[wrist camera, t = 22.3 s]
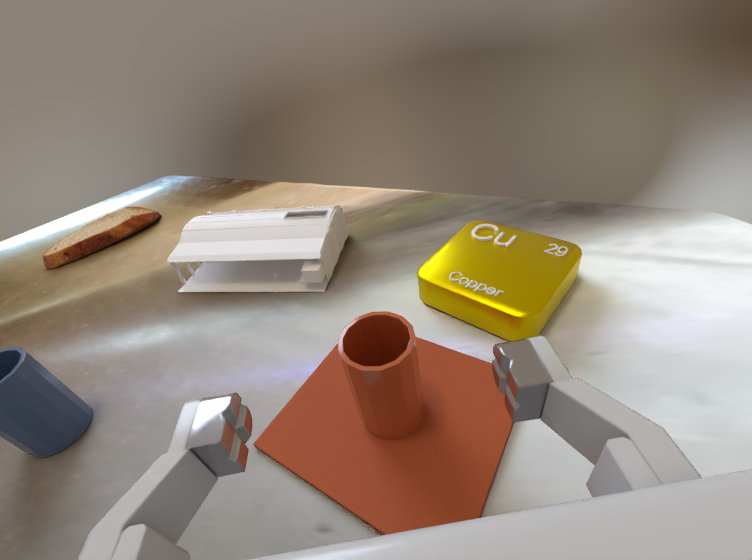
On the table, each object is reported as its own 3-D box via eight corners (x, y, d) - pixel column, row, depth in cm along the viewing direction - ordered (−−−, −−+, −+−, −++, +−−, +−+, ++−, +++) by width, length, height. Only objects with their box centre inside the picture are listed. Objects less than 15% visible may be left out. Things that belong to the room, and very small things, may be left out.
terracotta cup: (404, 452, 31) (390, 383, 25) (347, 421, 34) (322, 353, 28) (434, 396, 35) (428, 324, 29) (380, 373, 38) (364, 303, 32)
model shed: (173, 292, 56) (149, 255, 52) (220, 239, 67) (203, 205, 63) (327, 292, 50) (314, 251, 46) (350, 234, 61) (341, 196, 57)
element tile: (413, 299, 46) (409, 270, 43) (473, 241, 54) (473, 213, 51) (529, 351, 38) (534, 319, 35) (580, 273, 46) (588, 241, 43)
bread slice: (37, 271, 68) (21, 255, 66) (92, 223, 82) (81, 208, 80) (126, 258, 67) (114, 241, 64) (167, 211, 81) (159, 196, 78)
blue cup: (42, 469, 36) (-46, 414, 29) (20, 440, 39) (-64, 385, 32) (102, 418, 39) (35, 360, 33) (78, 396, 42) (12, 339, 36)
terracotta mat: (456, 584, 24) (456, 582, 24) (254, 446, 34) (252, 444, 34) (528, 379, 35) (529, 376, 35) (360, 320, 45) (359, 317, 45)
